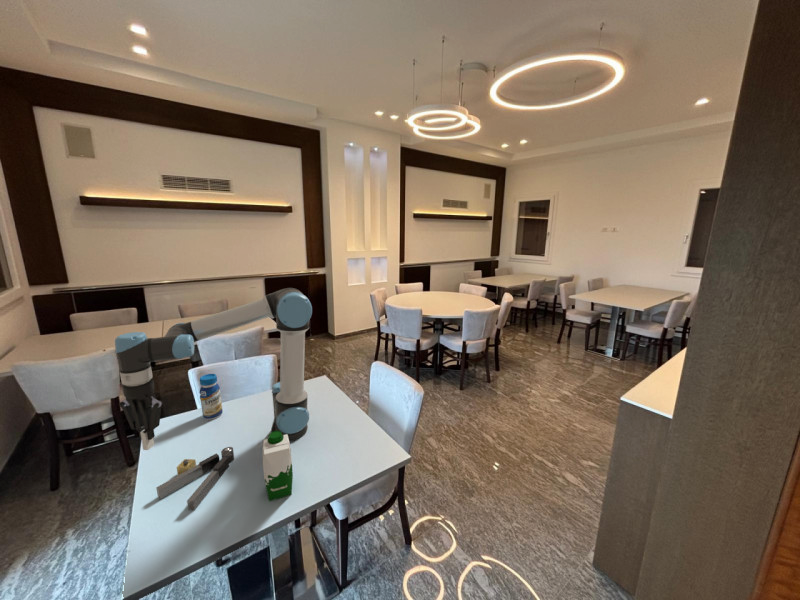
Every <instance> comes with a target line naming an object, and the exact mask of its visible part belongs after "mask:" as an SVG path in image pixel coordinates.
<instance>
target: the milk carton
mask: <svg viewBox="0 0 800 600" xmlns="http://www.w3.org/2000/svg"><path fill="white" fill-rule="evenodd" d="M262 443H263V444H262V457H261V459H262V467H263V468H262V469H263V477H264V486H265V490H266V494H267V496H268V497H267V498H268V501H269V502H271V501H274V500H279V499H281V498H284V497H289V496H291V495H292V493H293V492H292V491H293V479H294V478H293V476H294V475H293V460H292V447H291V444H290V443H291V441H289V438H288V435H287V434H286V435H282V433H281V432H280V431H274V432H272V433H271V432H270V433H269V434H268V438H264V439H263V442H262Z"/></svg>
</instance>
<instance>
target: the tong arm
mask: <svg viewBox="0 0 800 600" xmlns="http://www.w3.org/2000/svg"><path fill="white" fill-rule="evenodd" d="M220 460H221V459H220V455H219V454H218V453H215V454H212V455H210V456H209V457H207V458H205V459H203V460H201V461H199V462H198V464H196V466H195V467H193V468H191V469H189V470H187V471H185V472H184V473H182V474H180V475H178V474H177V476H175V477H173V478H171V479H169V480H166V482H163V483H162V484H160V485H158V486H157V487H155V488H156V489H155V490H156V493H157V498H158V499H159V500H162V499H164V498H165V497H167V496H169V495H171V494H172V493H174V492H176V491H178V490H180V489H181V488H182V487H184V486H187V485H188V484H190V483H192V482H193V481H194V480H197V479H198V478H200V477H202V476H203V475H205V474H207V473H208V472H211V471H213V468H214V467H215V466H216V464H217V463H218V462H219V461H220Z"/></svg>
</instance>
